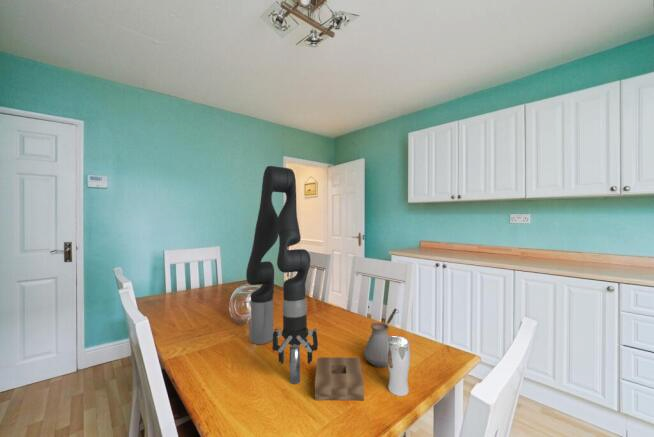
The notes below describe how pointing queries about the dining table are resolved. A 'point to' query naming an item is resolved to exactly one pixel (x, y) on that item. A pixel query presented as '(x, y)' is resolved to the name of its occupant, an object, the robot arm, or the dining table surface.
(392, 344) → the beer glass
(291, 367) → the pin
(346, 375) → the bore block
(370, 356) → the coffee pot
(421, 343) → the dining table surface
